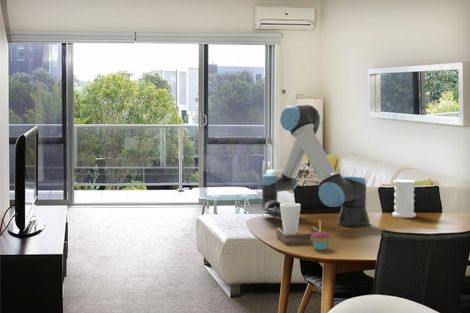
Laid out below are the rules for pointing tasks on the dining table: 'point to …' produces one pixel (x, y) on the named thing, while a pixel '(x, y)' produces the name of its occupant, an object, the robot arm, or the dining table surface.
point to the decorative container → (404, 198)
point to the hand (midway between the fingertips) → (286, 216)
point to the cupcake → (320, 239)
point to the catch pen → (295, 237)
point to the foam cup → (290, 217)
